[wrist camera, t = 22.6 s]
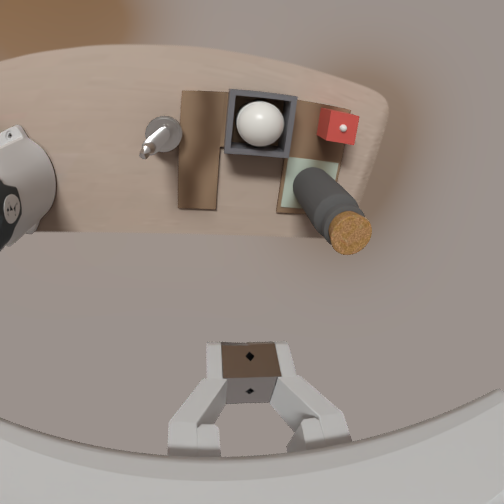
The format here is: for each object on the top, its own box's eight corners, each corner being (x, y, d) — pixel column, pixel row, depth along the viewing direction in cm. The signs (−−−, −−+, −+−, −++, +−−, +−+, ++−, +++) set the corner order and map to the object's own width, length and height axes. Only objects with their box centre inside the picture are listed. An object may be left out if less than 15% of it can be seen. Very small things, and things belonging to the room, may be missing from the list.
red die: (316, 134, 38) (327, 141, 34) (320, 107, 36) (332, 110, 32) (342, 139, 39) (355, 146, 35) (347, 112, 37) (361, 117, 33)
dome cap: (233, 138, 37) (236, 148, 32) (237, 98, 34) (241, 100, 29) (274, 142, 38) (284, 153, 33) (280, 102, 35) (291, 106, 30)
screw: (181, 111, 35) (185, 145, 38) (146, 117, 35) (151, 151, 37) (165, 124, 24) (172, 173, 27) (115, 134, 24) (125, 181, 26)
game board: (178, 206, 42) (177, 208, 42) (182, 90, 33) (181, 90, 33) (328, 214, 46) (329, 216, 45) (349, 109, 37) (351, 110, 36)
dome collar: (223, 146, 38) (224, 153, 34) (229, 88, 34) (230, 89, 30) (282, 151, 39) (288, 158, 36) (289, 95, 35) (297, 96, 31)
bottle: (336, 191, 43) (382, 242, 30) (303, 210, 44) (338, 268, 31) (319, 159, 40) (366, 200, 27) (284, 179, 41) (316, 229, 29)
